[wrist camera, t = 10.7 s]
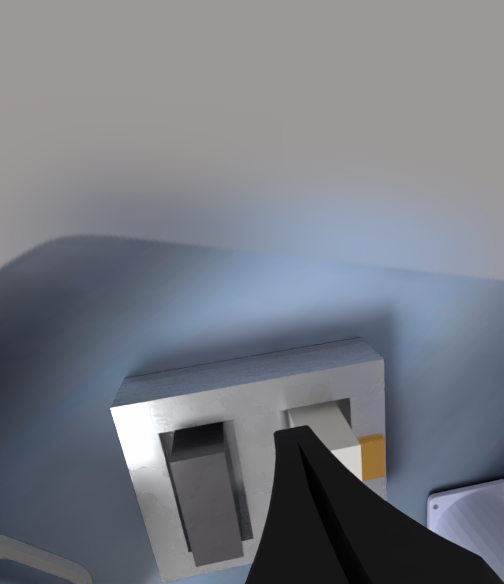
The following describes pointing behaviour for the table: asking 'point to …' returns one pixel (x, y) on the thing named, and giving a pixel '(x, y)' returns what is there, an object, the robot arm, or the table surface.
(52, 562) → the network device
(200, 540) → the rack
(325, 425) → the rectangular block
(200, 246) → the table surface
